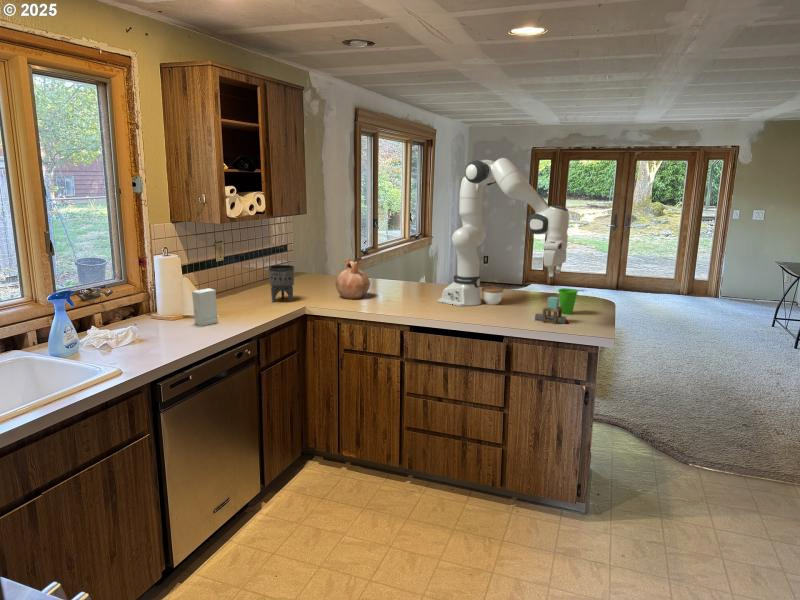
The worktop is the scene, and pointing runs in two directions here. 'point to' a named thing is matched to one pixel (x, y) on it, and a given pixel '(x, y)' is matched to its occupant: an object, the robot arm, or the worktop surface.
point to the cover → (550, 314)
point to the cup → (567, 300)
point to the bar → (559, 318)
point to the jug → (352, 281)
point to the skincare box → (205, 306)
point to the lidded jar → (492, 295)
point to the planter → (281, 280)
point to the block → (553, 302)
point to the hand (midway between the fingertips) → (554, 274)
